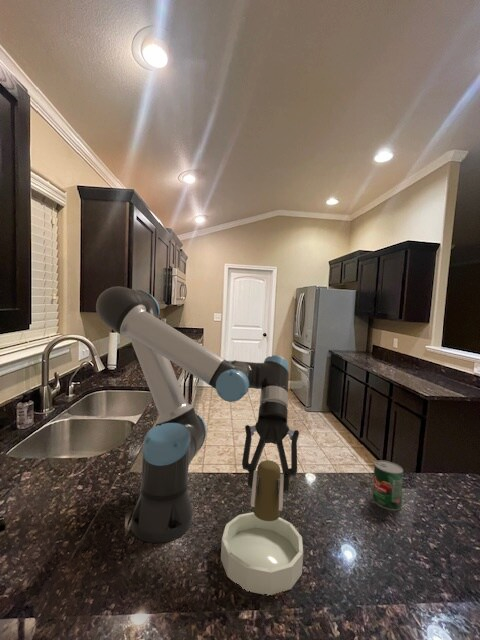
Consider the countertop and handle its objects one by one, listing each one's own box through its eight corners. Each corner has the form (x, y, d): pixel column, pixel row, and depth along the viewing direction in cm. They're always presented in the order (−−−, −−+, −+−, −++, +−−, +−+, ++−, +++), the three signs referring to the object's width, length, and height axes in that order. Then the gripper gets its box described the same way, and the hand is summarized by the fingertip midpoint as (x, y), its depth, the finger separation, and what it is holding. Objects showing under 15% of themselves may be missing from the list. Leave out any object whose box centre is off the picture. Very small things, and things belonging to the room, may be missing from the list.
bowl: (213, 584, 59) (214, 562, 59) (230, 525, 76) (231, 507, 76) (303, 602, 56) (305, 578, 56) (299, 536, 74) (300, 518, 74)
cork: (279, 523, 63) (282, 471, 63) (251, 518, 64) (253, 467, 64) (281, 506, 69) (283, 458, 69) (255, 501, 70) (257, 455, 70)
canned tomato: (404, 503, 91) (406, 467, 91) (397, 514, 85) (399, 476, 85) (377, 491, 96) (379, 457, 96) (368, 501, 90) (370, 465, 90)
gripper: (307, 417, 80) (308, 517, 64) (240, 411, 83) (226, 505, 67) (309, 403, 75) (312, 508, 59) (238, 397, 78) (222, 495, 61)
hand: (266, 506), depth 63 cm, fingers closed on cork, 5 cm apart
